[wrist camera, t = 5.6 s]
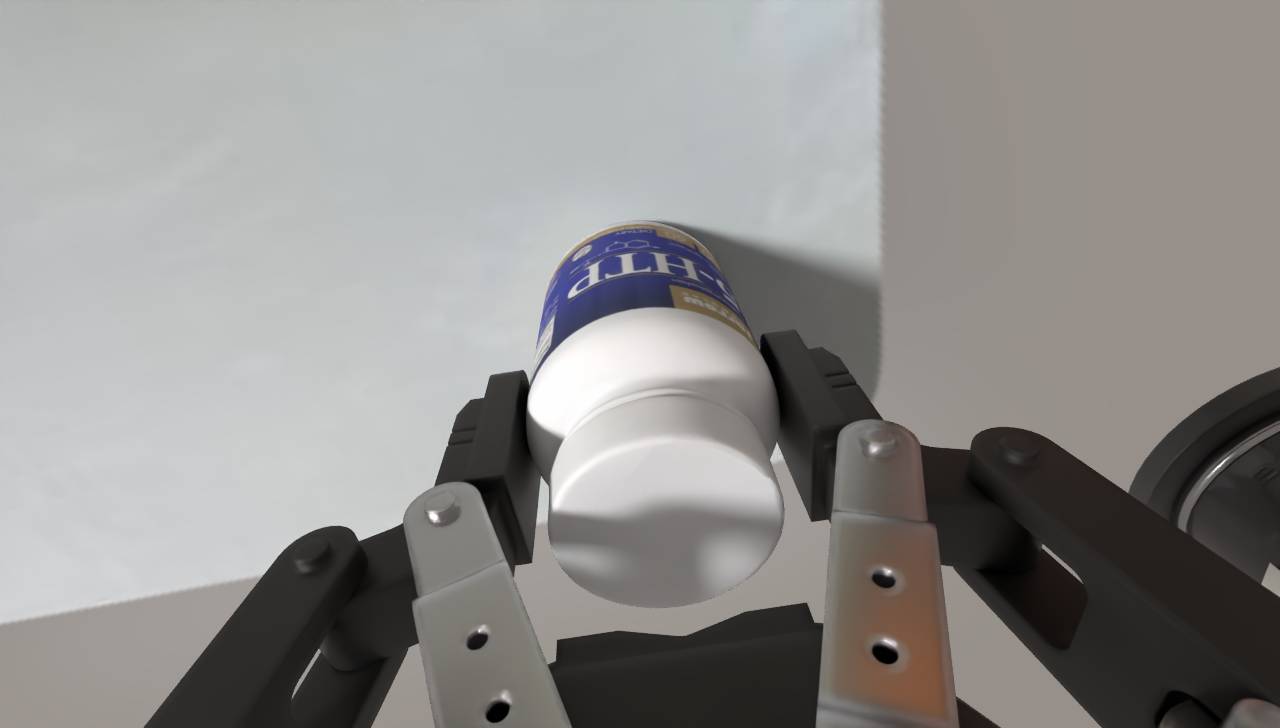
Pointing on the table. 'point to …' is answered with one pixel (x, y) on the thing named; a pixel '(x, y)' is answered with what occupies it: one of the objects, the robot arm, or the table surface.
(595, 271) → the pill bottle
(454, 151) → the table surface
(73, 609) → the table surface
